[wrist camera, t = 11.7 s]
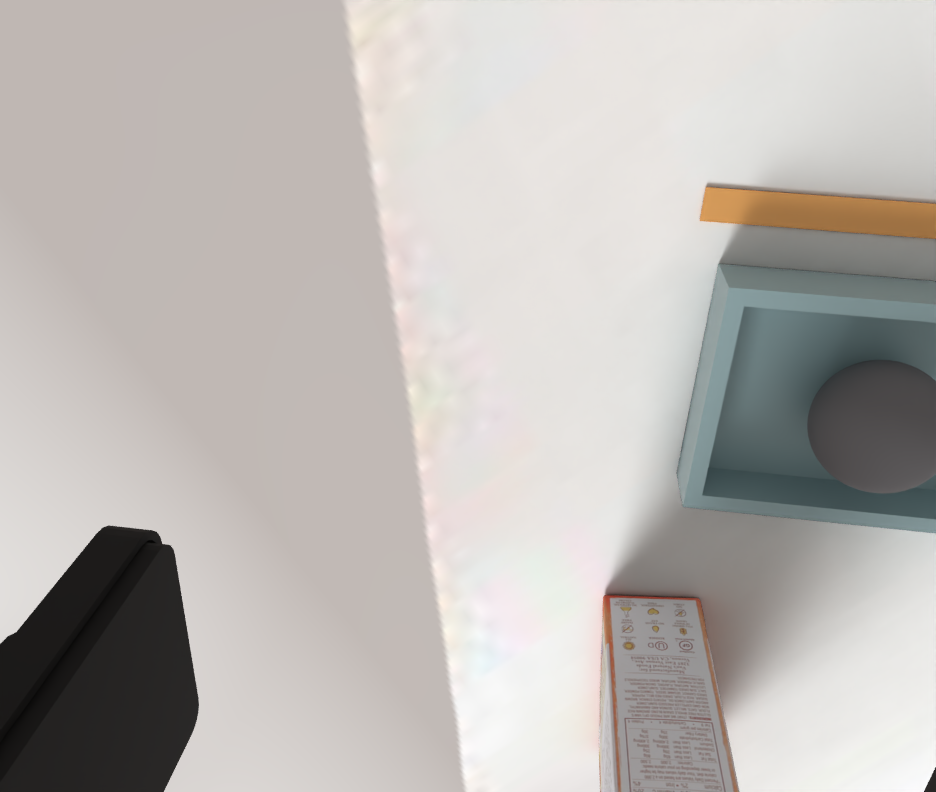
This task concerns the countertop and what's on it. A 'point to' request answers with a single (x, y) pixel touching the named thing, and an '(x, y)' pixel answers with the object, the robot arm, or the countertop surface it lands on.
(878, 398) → the ball
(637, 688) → the cracker box
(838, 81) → the countertop surface
